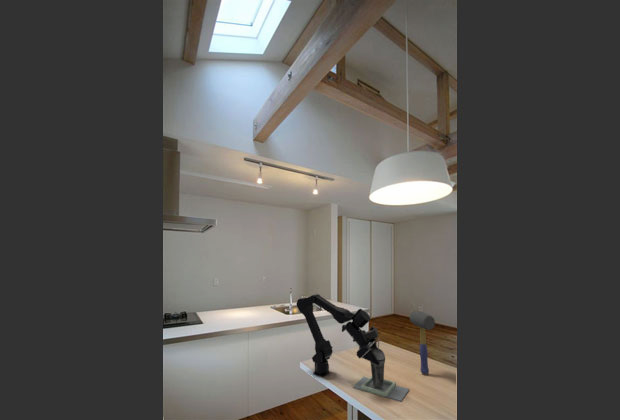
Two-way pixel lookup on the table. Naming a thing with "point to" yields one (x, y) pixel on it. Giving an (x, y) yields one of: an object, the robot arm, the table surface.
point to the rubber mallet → (423, 335)
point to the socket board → (382, 389)
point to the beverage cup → (378, 367)
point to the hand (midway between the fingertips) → (380, 361)
